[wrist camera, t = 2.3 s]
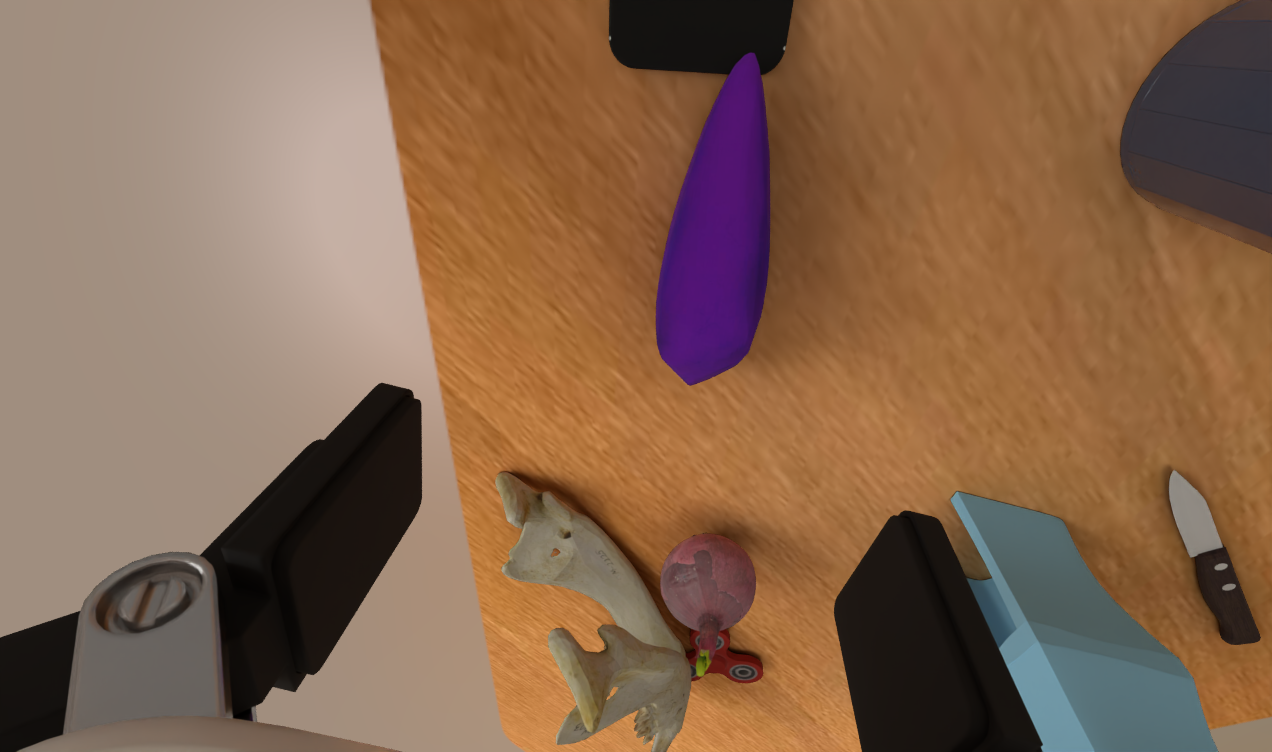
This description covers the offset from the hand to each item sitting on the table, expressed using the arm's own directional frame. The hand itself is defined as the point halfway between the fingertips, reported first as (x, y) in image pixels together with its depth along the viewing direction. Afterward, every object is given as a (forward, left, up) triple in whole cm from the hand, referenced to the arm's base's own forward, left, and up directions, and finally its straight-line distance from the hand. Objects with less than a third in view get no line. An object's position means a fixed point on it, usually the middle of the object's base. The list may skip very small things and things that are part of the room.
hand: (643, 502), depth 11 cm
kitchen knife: (+37, -14, -19) cm, 43 cm away
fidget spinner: (+12, -35, -18) cm, 41 cm away
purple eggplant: (+2, 0, -19) cm, 19 cm away
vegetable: (+7, -21, -19) cm, 29 cm away
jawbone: (+7, -27, -16) cm, 32 cm away
